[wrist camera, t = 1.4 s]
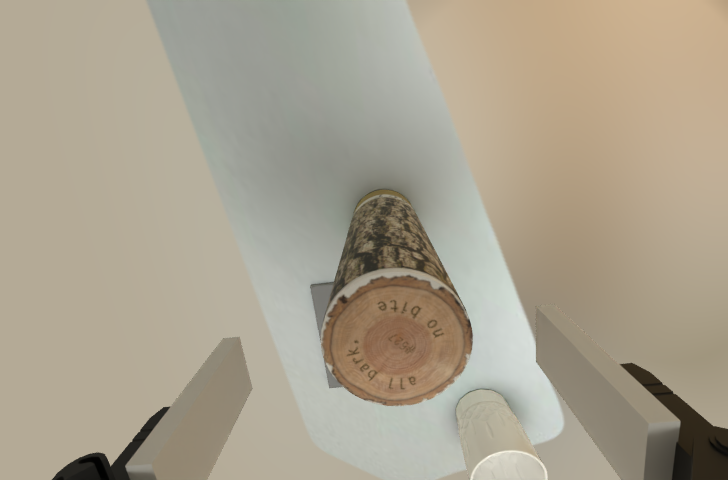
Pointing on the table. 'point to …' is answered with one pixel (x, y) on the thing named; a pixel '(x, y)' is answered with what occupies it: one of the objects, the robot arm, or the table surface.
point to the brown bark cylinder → (393, 309)
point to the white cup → (495, 440)
